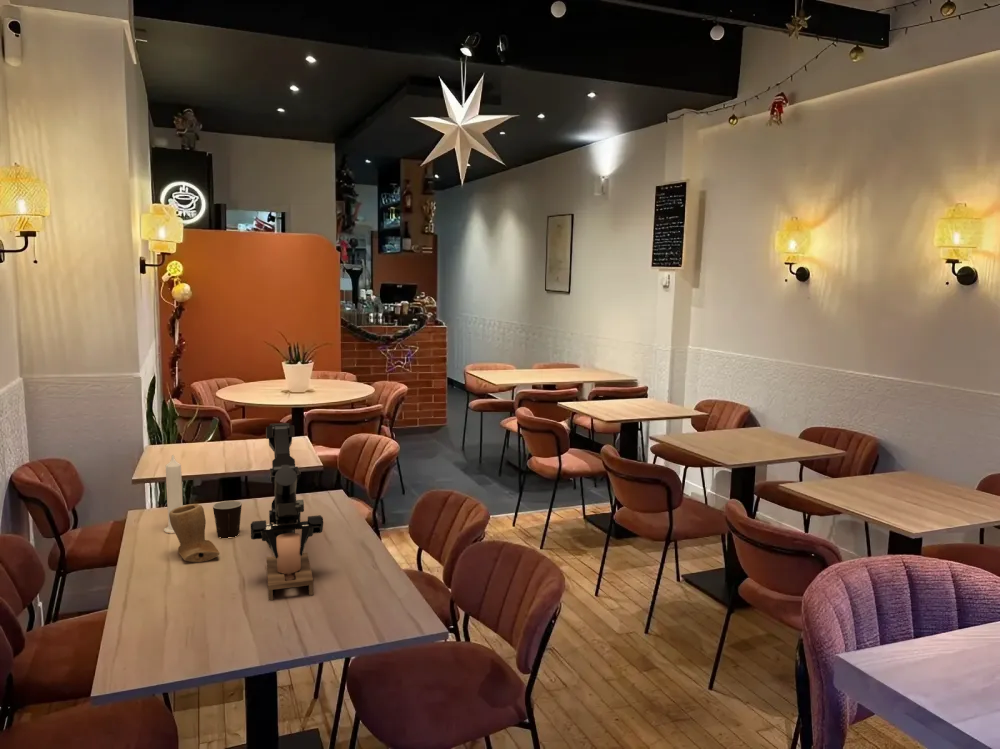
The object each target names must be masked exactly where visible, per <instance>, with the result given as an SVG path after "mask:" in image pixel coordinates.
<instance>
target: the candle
mask: <svg viewBox="0 0 1000 749" xmlns="http://www.w3.org/2000/svg"><path fill="white" fill-rule="evenodd" d="M165 480H166V481H165V482H166V484H165V485H166V501H167V502H166V505H167V521H168V522H167V525H168V526H166V527H164V529H163V532H164V531H165V532H170V533H171V532H173V533H175V532H174V530H173V528H172V526H171V523H170V517H169V513H170V511H172V510H173V509H175V508H178V507H182V506H184V504H183V502H184V501H183V479H182V464H181V463H180V462H178V461H177V460H176V459H175V455H174V454H172V455H171V459H170V461H169V462H168V463H167V464H166V465H165ZM165 532H164V533H165Z"/></svg>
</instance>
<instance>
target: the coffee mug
mask: <svg viewBox="0 0 1000 749" xmlns="http://www.w3.org/2000/svg"><path fill="white" fill-rule="evenodd" d="M212 510H213V516H214V522H215V528H216V534H217V538H219V537H221V538H220V539H222V538H228V537H234V538H236V537H235V536H237V535H238V534H239V535H240V527H241V517H242V514H241V513H242V502H241V501H238V500H224V501H223V500H222V501H219V502H216V503H214V504H212ZM239 535H238V536H239ZM238 536H237V537H238ZM228 539H229V538H228Z"/></svg>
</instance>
